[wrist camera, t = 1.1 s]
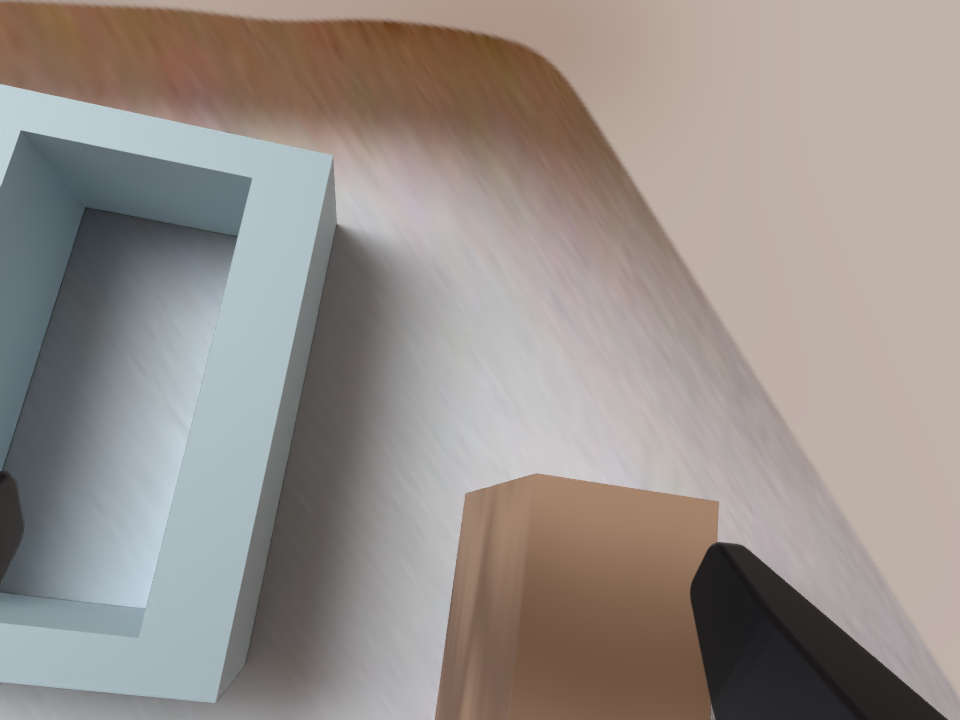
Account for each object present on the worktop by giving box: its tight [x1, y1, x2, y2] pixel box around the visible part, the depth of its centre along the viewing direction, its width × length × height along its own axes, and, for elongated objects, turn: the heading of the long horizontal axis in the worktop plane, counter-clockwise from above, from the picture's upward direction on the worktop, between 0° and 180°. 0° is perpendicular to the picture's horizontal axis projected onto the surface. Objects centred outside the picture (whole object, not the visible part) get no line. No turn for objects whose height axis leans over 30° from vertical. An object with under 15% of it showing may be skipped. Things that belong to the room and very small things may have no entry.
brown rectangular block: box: [435, 474, 719, 720], centre depth 17 cm, size 8×4×9 cm, turn 172°
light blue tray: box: [0, 84, 337, 703], centre depth 19 cm, size 14×10×4 cm
